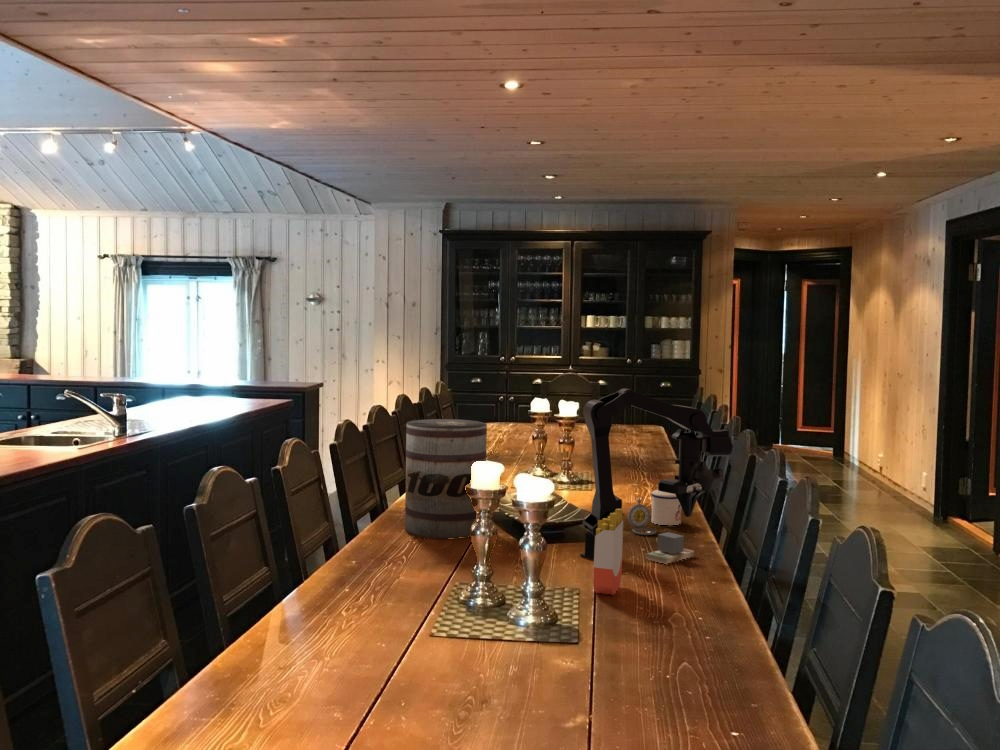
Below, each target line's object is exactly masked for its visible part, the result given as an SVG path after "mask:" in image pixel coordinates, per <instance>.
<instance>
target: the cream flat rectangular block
mask: <svg viewBox="0 0 1000 750" xmlns="http://www.w3.org/2000/svg"><path fill="white" fill-rule="evenodd" d="M693 556H694V557H695V550H693V549H689V548H685V547H684V550H683V552H680V553H676V554H671V553H667V552H663V551H660V550H654V551H651V552H648V553H645V560H646V559H648V560H647V561H649V560H652V561H651V562H653V561H655V562H654V563H656V562H659V563H658V564H660V563H664V564H666V565H668V564H667V563H670V562H674V563H676V562H675V561H677V562H680V561H679V560H681V561H683V560H682V559H685V560H687V559H686V558H689V559H691V558H690V557H692V558H694V557H693ZM664 564H663V565H664ZM670 564H671V563H670Z"/></svg>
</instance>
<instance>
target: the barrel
mask: <svg viewBox="0 0 1000 750" xmlns="http://www.w3.org/2000/svg"><path fill="white" fill-rule="evenodd" d="M487 432H488V425H487V423H486V422H484V421H483V422H482V421H478V420H470V419H454V418H449V419H448V418H436V419H435V418H431V419H416V420H409V421H407V422H406V433H405V434H406V437H405V439H406V440H405V441H406V442H405V444H406V447H405V448H406V449H405V502H404V506H405V508H404V509H405V511H404V513H405V514H404V522H405V523H404V531H405V532H406V533H407V534H408V533H409V534H408V535H410V534H411V535H410V536H413V535H414V537H417V536H419V537H418V538H421V537H424V538H423V539H428V538H430V539H429V540H449V539H448V538H459V537H468V536H469V537H470V528H471V525H472V523H473V522H474V521H475V519H476V511H475V510H474V508H473V506H472V502H471V499H470V497H469V496H468V495H467V493H466V490H465V486H466V485H467V484H469V483H470V480H471V466H472V464H473V463H474V462H476V461H486V462H487V443H488V442H487V441H488V438H487V437H488V436H487V435H488V433H487ZM470 538H471V537H470Z"/></svg>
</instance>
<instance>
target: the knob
mask: <svg viewBox="0 0 1000 750" xmlns="http://www.w3.org/2000/svg"><path fill="white" fill-rule="evenodd" d="M684 544H685V536H684V535H680V534H678V533H673V532H669V531H667V532H663V533H659V534H657V551H659V550H660V551H663V552H667V553H671V554H676V553H680V552H683V550H684V548H685V545H684Z"/></svg>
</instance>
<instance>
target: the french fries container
mask: <svg viewBox="0 0 1000 750" xmlns="http://www.w3.org/2000/svg"><path fill="white" fill-rule="evenodd" d="M623 511H624V510H623V508H622V509H615V512H613V513H610V516H608V518H603V519H602V520H598V528H597V529H596V536H595V550H594V560H593V577H592V578H593V579H592V581H593V583H592V584H593V585H592V586H593V590H594V592H595V594H600V593H602V594H601V595H608V594H611V596H615V595H616V593H617V592H618V590H619V589H618V588H620V585H621V579H622V572H623V571H622V569H623V541H624V540H623V539H624V538H623V537H624V536H623V535H624V520H623V516H622V512H623ZM623 513H624V512H623ZM616 591H617V592H616ZM614 594H615V595H614Z"/></svg>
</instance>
